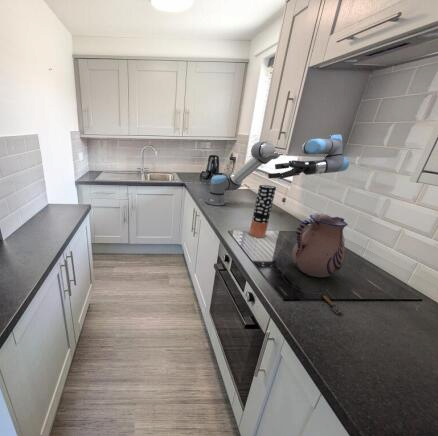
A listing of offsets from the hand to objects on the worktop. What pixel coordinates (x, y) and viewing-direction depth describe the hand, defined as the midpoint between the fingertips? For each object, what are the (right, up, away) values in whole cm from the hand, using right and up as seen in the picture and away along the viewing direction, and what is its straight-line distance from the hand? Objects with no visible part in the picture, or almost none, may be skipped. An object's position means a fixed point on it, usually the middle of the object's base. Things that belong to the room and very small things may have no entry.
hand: (271, 171), depth 132 cm
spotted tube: (-6, -28, +1) cm, 29 cm away
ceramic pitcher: (-1, -50, -32) cm, 59 cm away
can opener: (-7, -57, -51) cm, 77 cm away
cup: (-6, -36, +4) cm, 37 cm away
